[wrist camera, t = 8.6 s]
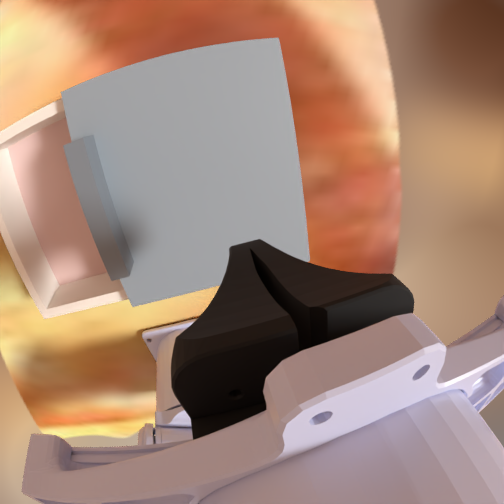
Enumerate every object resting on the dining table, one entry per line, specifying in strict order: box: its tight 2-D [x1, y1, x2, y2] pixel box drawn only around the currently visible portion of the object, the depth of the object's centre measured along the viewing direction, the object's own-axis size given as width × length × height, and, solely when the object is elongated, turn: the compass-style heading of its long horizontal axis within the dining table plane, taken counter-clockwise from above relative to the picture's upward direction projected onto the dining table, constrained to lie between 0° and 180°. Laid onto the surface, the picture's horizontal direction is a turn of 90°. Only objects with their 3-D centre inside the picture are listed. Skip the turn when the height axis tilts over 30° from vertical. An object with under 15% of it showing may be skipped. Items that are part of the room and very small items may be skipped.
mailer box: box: [0, 98, 129, 319], centre depth 17 cm, size 14×12×4 cm
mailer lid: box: [61, 38, 310, 307], centre depth 15 cm, size 14×12×2 cm
